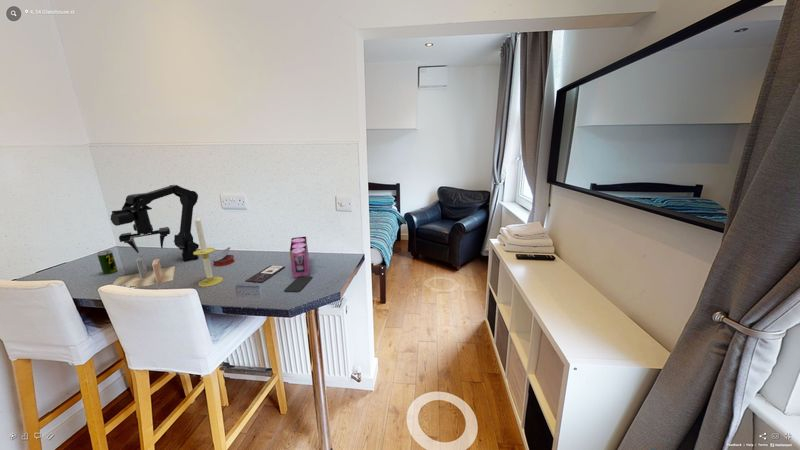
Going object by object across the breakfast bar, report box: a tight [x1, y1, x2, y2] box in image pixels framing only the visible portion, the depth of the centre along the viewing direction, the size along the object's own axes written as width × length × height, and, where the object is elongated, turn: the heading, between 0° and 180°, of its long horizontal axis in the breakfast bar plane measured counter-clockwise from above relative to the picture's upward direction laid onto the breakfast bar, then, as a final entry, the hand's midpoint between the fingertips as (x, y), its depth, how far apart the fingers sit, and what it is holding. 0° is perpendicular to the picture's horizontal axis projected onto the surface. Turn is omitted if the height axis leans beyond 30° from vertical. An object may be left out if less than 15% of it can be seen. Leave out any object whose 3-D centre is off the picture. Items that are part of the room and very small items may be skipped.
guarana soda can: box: [96, 249, 119, 276], centre depth 145 cm, size 5×5×12 cm
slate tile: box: [136, 255, 149, 278], centre depth 142 cm, size 2×8×9 cm, turn 34°
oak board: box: [112, 266, 176, 289], centre depth 139 cm, size 23×21×1 cm
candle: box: [193, 214, 224, 288], centre depth 130 cm, size 10×10×32 cm
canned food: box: [212, 246, 235, 267], centre depth 157 cm, size 11×10×10 cm
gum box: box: [289, 236, 310, 279], centre depth 145 cm, size 24×8×14 cm, turn 18°
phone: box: [283, 275, 313, 293], centre depth 130 cm, size 7×1×15 cm
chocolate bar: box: [244, 265, 286, 284], centre depth 141 cm, size 9×1×18 cm
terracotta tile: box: [151, 258, 163, 284], centre depth 137 cm, size 2×8×9 cm, turn 34°
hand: (150, 250), depth 144 cm, fingers open, 9 cm apart
